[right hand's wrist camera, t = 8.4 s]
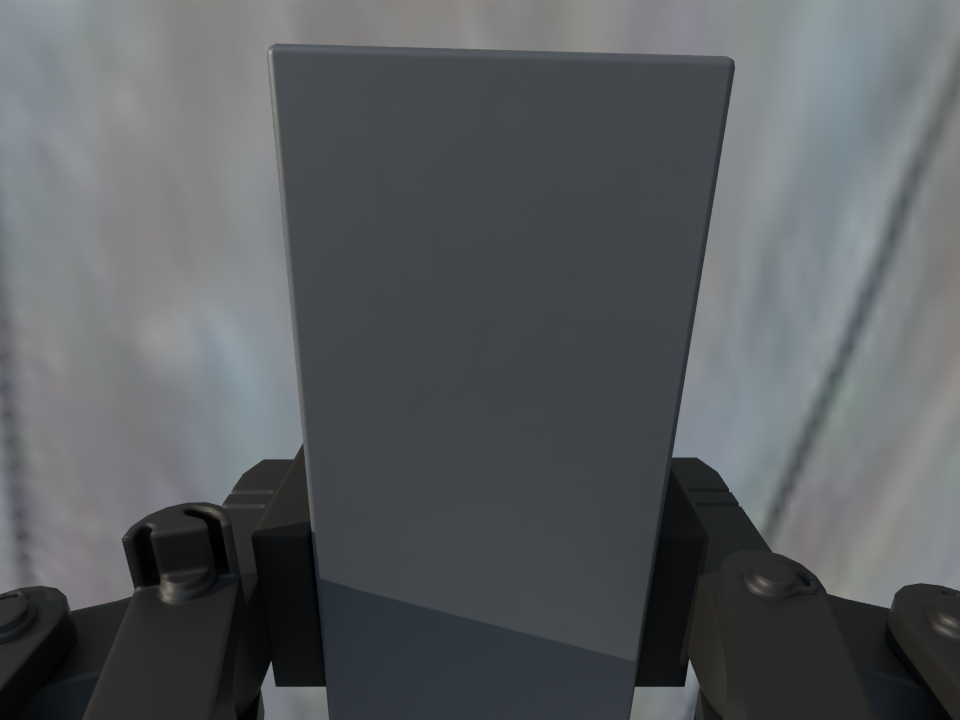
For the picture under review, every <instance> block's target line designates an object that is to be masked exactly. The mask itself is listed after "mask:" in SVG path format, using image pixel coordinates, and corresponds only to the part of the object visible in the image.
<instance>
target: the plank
mask: <svg viewBox="0 0 960 720" xmlns="http://www.w3.org/2000/svg"><path fill="white" fill-rule="evenodd" d="M267 60H268V71H269V81H270V92H271V103H272V114H273V124H274V135H275V146H276V156H277V167H278V178H279V188H280V199H281V210H282V220H283V231H284V242H285V252H286V263H287V274H288V285H289V295H290V306H291V317H292V327H293V338H294V349H295V359H296V370H297V381H298V391H299V402H300V413H301V423H302V434H303V445H304V456H305V466H306V477H307V488H308V498H309V509H310V520H311V530H312V541H313V552H314V562H315V573H316V584H317V594H318V605H319V616H320V627H321V637H322V648H323V659H324V669H325V680H326V691H327V701H328V712H329V720H630V714H631V707H632V701H633V695H634V689H635V683H636V676H637V670H638V664H639V658H640V652H641V646H642V639H643V633H644V627H645V621H646V615H647V608H648V602H649V596H650V590H651V584H652V577H653V571H654V565H655V559H656V553H657V547H658V540H659V534H660V528H661V522H662V516H663V509H664V503H665V497H666V491H667V485H668V479H669V472H670V466H671V460H672V454H673V448H674V441H675V435H676V429H677V423H678V417H679V410H680V404H681V398H682V392H683V386H684V380H685V373H686V367H687V361H688V355H689V349H690V342H691V336H692V330H693V324H694V318H695V311H696V305H697V299H698V293H699V287H700V281H701V274H702V268H703V262H704V256H705V250H706V243H707V237H708V231H709V225H710V219H711V213H712V206H713V200H714V194H715V188H716V182H717V175H718V169H719V163H720V157H721V151H722V144H723V138H724V132H725V126H726V120H727V114H728V107H729V101H730V95H731V89H732V83H733V76H734V70H735V65H734V60H732V59H730V58H729V57H726V56H691V55H656V54H621V53H585V52H550V51H515V50H480V49H445V48H409V47H374V46H339V45H304V44H274V45H272V46H270V47H269V49H268V53H267Z"/></svg>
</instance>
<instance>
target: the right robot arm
mask: <svg viewBox="0 0 960 720" xmlns="http://www.w3.org/2000/svg"><path fill="white" fill-rule="evenodd" d="M122 542H123V546H124V550H125V554H126V558H127V561H128V565H129V569H130V573H131V577H132V581H133V585H134V588H135V591H134V593H133V596H132V597H129V598H126V599H122V600H119V601H115V602H110V603H106V604H101V605H97V606H92V607H88V608H83V609H79V610H74V611H71V610H70V607H69V604H68V601H67V598H66V596H65V595H64V594H63V593H62V592H60V591H59V590H58V589H57V588H51V587H45V586H35V587H27V588H19V589H16V590H13V591H9V592H7V593H3V594H0V720H264V705H263V698H262V693H261V686H262V683H263V680H264V678H265V675H266V673H267V670H268V668H269V665H270V662H271V660H272V666H273V672H274V678H275V684H276V687H326V680H325V669H324V659H323V648H322V637H321V627H320V616H319V605H318V594H317V584H316V573H315V562H314V552H313V541H312V530H311V520H310V509H309V498H308V488H307V477H306V466H305V456H304V445H303V444H302V446H301V448H300V450H299V451H298V453H297V455H296V457H295V459H294V460H262V461H261V462H260V463H258V464H257V465H255V466H254V467H252V468H251V469H250V470H248V471H247V472H245V473H244V474H243V475H242V477H241V478H240V479H239V481H238V482H237V484H236V485H235V487H234V488H233V490H232V494H229V496H228V497H227V499H226V500H225V502H224V503H223V505H222V507H221V506H218V505H215V504H211V503H207V502H202V503H185V504H180V505H176V506H171V507H167V508H165V509H162V510H160V511H157V512H155V513H153V514H150V515H148V516H146V517H145V518H143V519H142V520H140V521H139V522H138V523H136V524H135V525H133V526H132V527H131V528H130V529H129V530H128V532H127V533H126V534H125V535H124V537H123V538H122ZM689 659H690V661H691V664H692V666H693V669H694V671H695V674H696V676H697V679H698V682H699V684H700V687H699V693H698V698H697V704H696V709H695V715H694V720H960V591H957V590H953V589H951V588H947V587H944V586H939V585H931V584H922V583H919V584H913V585H907V586H904V587H903V588H901V589H900V590H899V591H898V592H897V593H896V594H895V596H894V599H893V602H892V606H891V609H889V608H884V607H879V606H875V605H870V604H866V603H861V602H857V601H852V600H848V599H844V598H840V597H837V596H833V595H830V594H827V592H826V590H825V588H824V587H823V585H822V584H821V582H820V581H819V580H818V578H817V577H816V576H815V575H814V574H813V573H812V572H810V571H809V570H808V569H806V568H805V567H804V566H803V565H801V564H800V563H798V562H795V561H793V560H791V559H789V558H787V557H785V556H783V555H780V554H776V553H772V551H771V550H770V548H769V547H768V545H767V544H766V542H765V541H764V539H763V538H762V537H761V535H760V534H759V532H758V531H757V529H756V528H755V526H754V525H753V523H752V522H751V520H750V519H749V518H748V516H747V515H746V513H745V512H744V510H743V509H742V507H739V503H738V501H737V500H736V498H735V497H734V496H733V494H732V493H731V492H729V488H728V487H727V485H726V484H725V482H724V481H723V479H722V478H721V477H720V475H719V474H718V472H717V471H715V470H714V469H712V468H711V467H709V466H708V465H707V464H705V463H704V462H702V461H701V460H699V459H698V458H672V460H671V466H670V472H669V479H668V485H667V491H666V497H665V503H664V509H663V516H662V522H661V528H660V534H659V540H658V547H657V553H656V559H655V565H654V571H653V577H652V584H651V590H650V596H649V602H648V608H647V615H646V621H645V627H644V633H643V639H642V646H641V652H640V658H639V664H638V670H637V676H636V683H635V687H685V681H686V675H687V669H688V662H689Z"/></svg>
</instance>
